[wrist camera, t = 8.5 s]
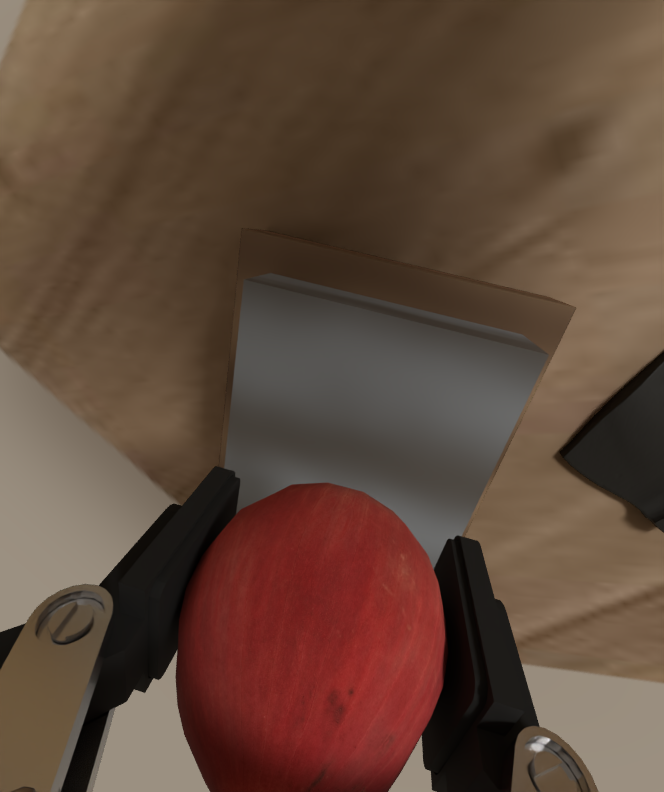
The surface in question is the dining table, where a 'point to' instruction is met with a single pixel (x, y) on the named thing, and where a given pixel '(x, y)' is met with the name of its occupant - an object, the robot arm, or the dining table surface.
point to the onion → (310, 646)
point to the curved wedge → (627, 444)
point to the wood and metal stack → (378, 379)
